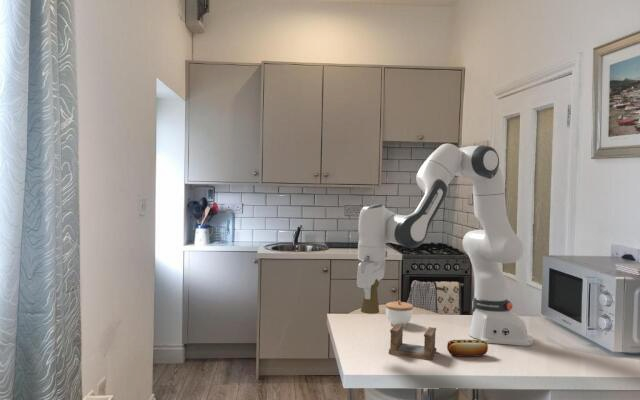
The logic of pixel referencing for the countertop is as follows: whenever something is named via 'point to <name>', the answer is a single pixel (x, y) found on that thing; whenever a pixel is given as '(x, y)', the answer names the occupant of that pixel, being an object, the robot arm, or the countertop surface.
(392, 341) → the holder
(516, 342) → the robot arm
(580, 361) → the countertop surface
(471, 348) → the hot dog
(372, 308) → the olive green bulbous cylinder
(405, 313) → the lidded jar
